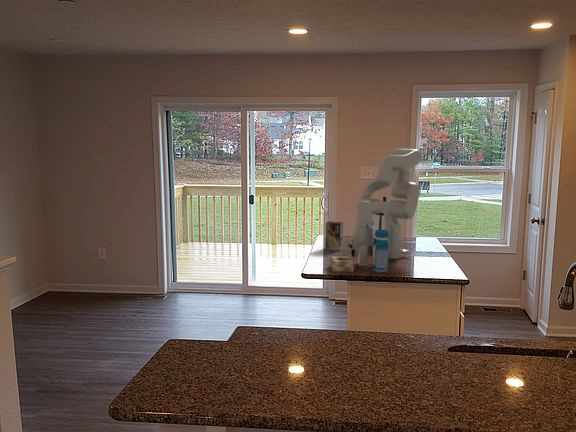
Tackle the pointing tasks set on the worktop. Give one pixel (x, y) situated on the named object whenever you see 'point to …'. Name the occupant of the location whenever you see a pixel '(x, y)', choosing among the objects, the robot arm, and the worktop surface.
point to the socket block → (342, 264)
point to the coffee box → (334, 235)
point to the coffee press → (378, 220)
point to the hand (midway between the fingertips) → (362, 256)
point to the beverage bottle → (380, 251)
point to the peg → (362, 255)
